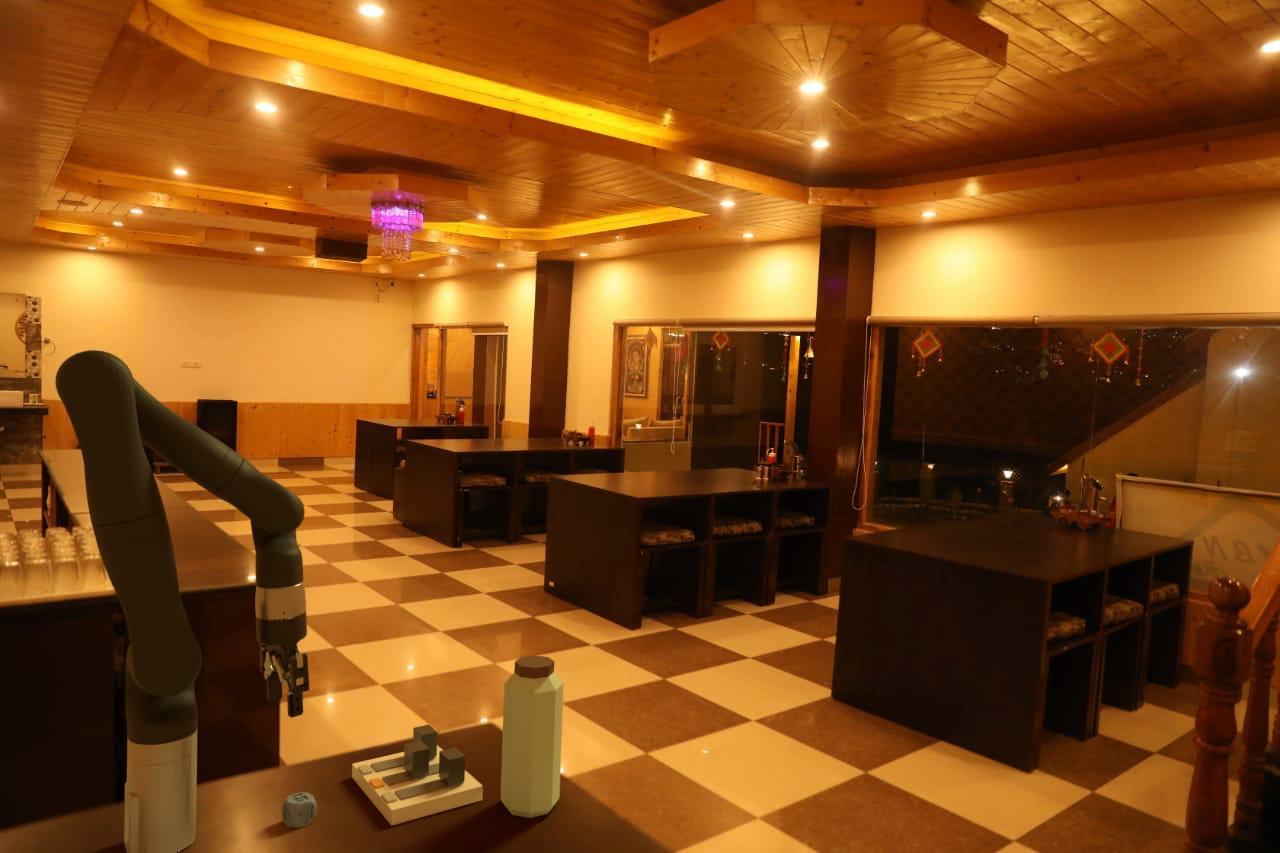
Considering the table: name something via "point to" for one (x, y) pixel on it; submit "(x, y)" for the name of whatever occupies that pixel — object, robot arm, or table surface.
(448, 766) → the block
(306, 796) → the decorative dice
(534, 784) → the water bottle
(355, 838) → the table surface
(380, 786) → the breaker panel
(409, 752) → the block
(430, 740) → the block
